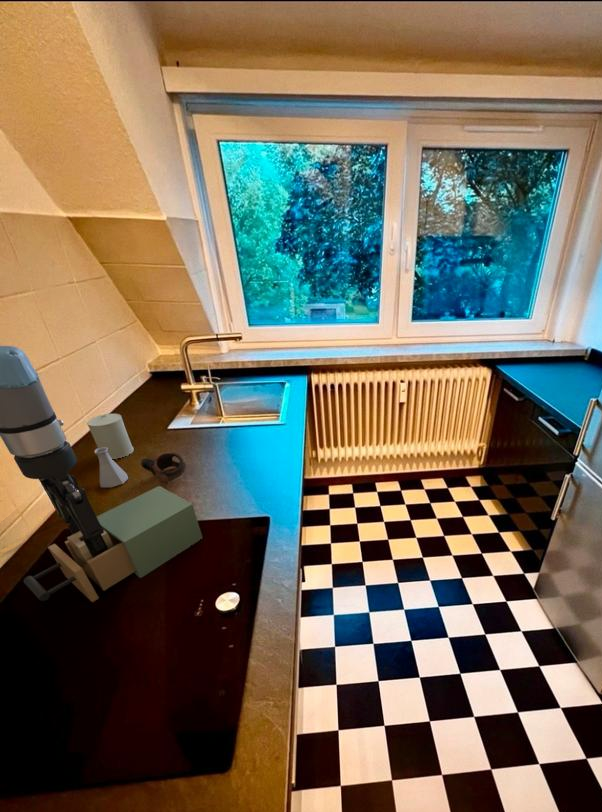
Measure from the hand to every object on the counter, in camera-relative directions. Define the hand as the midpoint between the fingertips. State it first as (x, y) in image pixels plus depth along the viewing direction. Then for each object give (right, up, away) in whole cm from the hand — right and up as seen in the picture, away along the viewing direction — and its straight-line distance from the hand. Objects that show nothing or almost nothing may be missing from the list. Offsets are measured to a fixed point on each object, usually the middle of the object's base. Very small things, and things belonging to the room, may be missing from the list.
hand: (96, 553), depth 75 cm
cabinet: (+6, 0, +11) cm, 12 cm away
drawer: (-1, -5, +2) cm, 5 cm away
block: (0, 0, 0) cm, 0 cm away
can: (-26, +23, +47) cm, 58 cm away
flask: (-18, +14, +33) cm, 40 cm away
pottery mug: (-4, +15, +35) cm, 39 cm away
